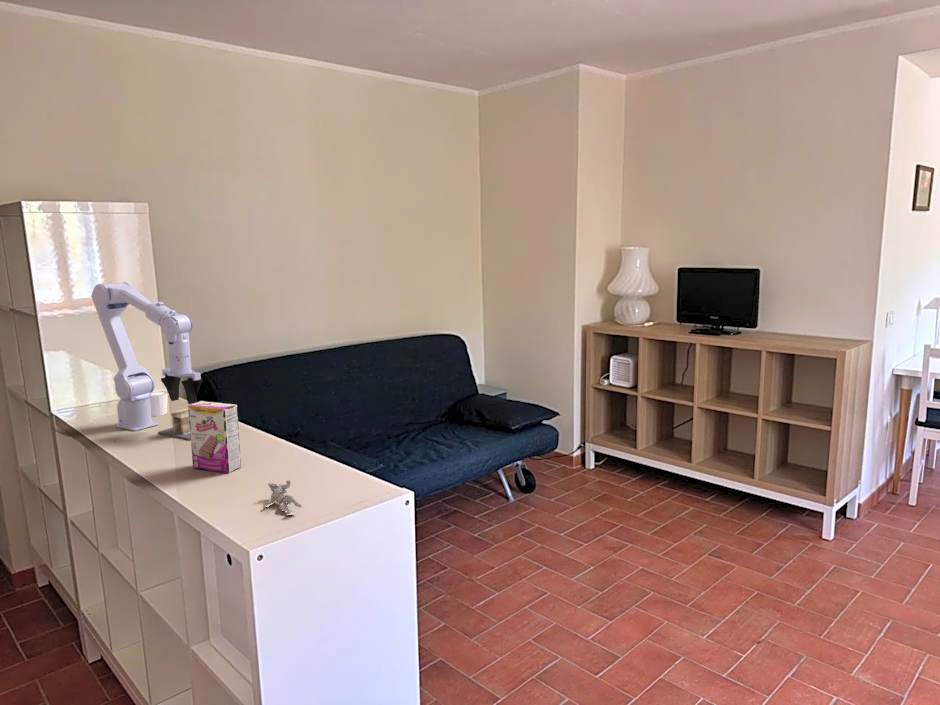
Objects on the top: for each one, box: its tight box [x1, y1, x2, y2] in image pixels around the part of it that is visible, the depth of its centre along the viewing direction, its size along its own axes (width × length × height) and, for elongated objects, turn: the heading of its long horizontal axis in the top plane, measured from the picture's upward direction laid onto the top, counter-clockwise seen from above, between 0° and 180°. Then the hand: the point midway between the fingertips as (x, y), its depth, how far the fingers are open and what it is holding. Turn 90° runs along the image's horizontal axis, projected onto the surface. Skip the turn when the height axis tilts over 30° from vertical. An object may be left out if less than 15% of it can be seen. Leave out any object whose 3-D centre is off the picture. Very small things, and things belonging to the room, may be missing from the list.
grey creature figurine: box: [262, 479, 302, 515], centre depth 137 cm, size 8×5×12 cm
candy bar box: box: [187, 400, 242, 474], centre depth 159 cm, size 11×5×16 cm, turn 71°
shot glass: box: [150, 391, 169, 417], centre depth 212 cm, size 7×7×7 cm
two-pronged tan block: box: [170, 407, 190, 434], centre depth 190 cm, size 4×6×6 cm
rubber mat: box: [157, 427, 191, 441], centre depth 191 cm, size 14×10×1 cm
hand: (183, 401), depth 190 cm, fingers open, 7 cm apart
